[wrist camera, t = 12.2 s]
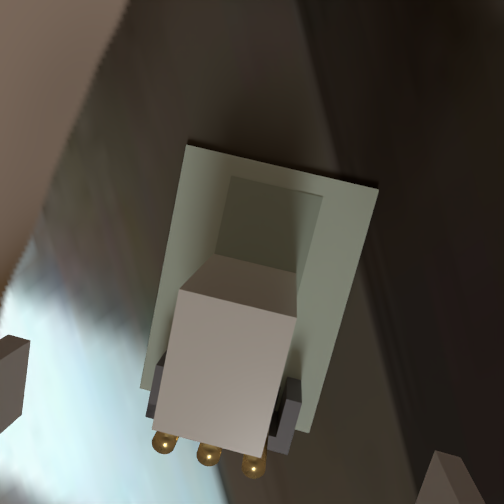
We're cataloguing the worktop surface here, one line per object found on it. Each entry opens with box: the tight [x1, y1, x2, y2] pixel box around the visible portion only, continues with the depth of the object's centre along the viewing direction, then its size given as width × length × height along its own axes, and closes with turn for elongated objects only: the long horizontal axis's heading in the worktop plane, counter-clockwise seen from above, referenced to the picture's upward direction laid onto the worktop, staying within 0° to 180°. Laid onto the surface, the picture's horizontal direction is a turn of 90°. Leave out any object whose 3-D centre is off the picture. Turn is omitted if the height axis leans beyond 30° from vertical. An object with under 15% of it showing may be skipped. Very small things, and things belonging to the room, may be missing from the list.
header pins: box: [152, 387, 281, 479], centre depth 21 cm, size 2×6×6 cm, turn 77°
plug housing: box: [152, 254, 297, 458], centre depth 20 cm, size 6×4×7 cm
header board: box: [140, 145, 379, 455], centre depth 22 cm, size 14×10×3 cm
